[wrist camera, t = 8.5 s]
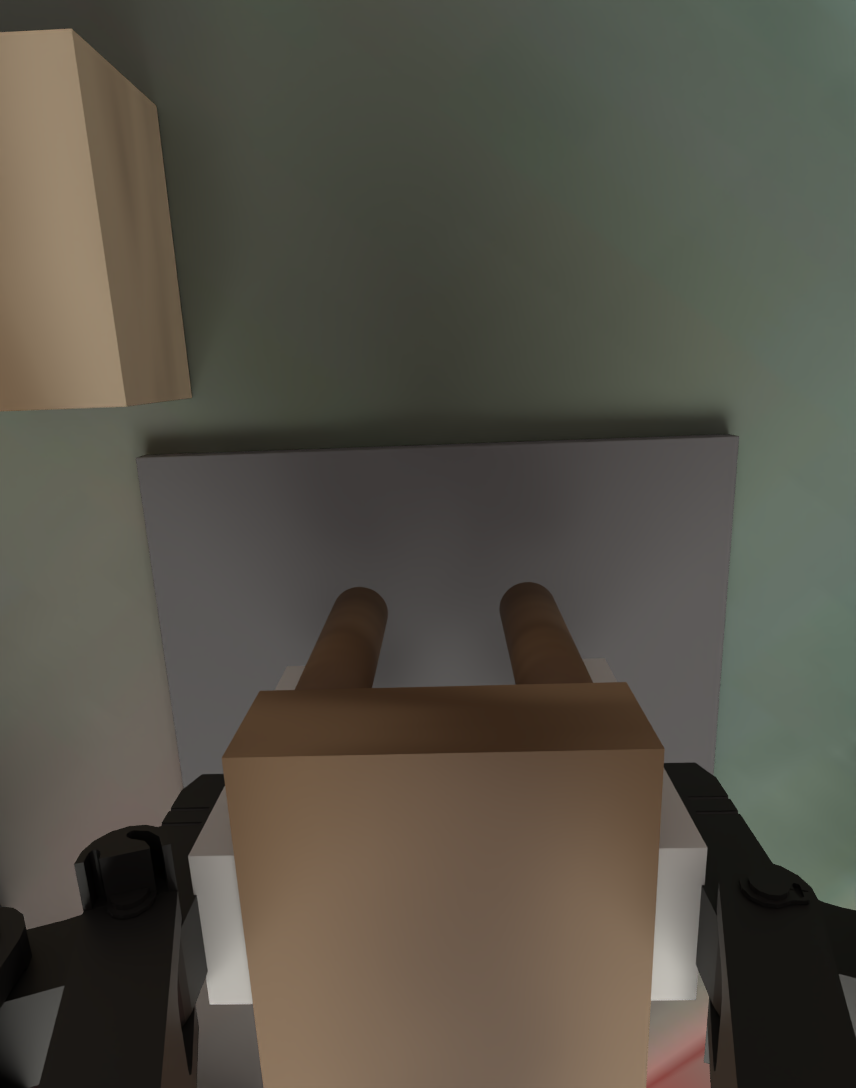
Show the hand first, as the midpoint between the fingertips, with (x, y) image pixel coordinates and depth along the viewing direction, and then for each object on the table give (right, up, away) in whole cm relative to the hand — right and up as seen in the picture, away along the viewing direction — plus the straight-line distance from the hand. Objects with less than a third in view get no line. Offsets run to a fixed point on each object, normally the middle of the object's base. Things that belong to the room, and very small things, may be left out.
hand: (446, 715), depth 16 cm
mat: (0, +1, +4) cm, 4 cm away
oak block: (-10, +11, +1) cm, 15 cm away
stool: (0, 0, +1) cm, 1 cm away
